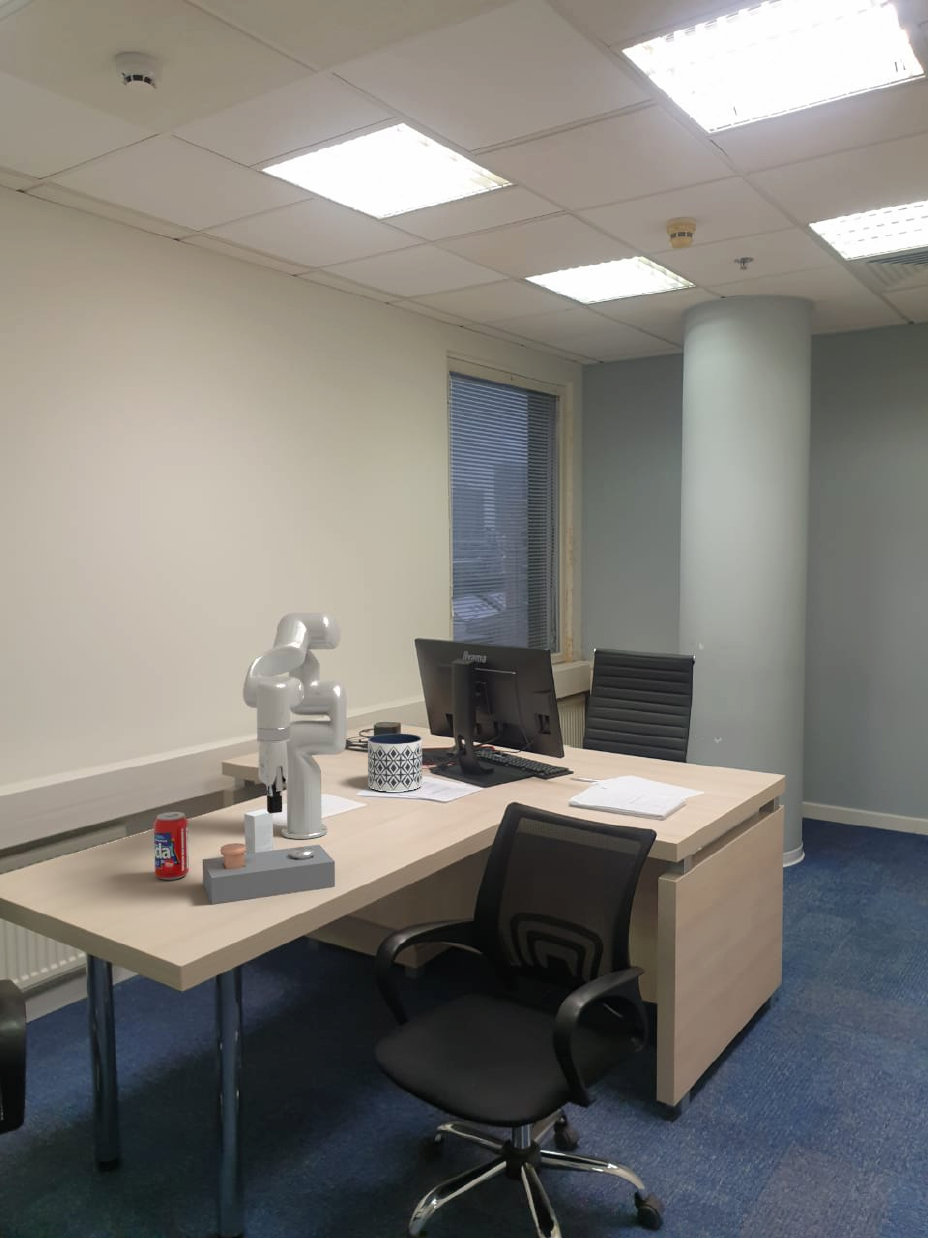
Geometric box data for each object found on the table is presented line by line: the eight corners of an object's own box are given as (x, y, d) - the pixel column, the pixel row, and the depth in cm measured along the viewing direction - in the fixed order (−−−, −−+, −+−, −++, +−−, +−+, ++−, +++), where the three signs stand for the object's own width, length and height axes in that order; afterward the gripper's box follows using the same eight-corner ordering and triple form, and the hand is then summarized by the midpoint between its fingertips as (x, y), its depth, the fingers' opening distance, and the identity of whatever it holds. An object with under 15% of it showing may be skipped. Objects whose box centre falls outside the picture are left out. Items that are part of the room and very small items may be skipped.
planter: (416, 794, 303) (415, 744, 302) (361, 792, 306) (361, 743, 304) (427, 781, 321) (426, 734, 320) (375, 779, 323) (375, 732, 322)
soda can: (195, 875, 225) (194, 814, 224) (166, 884, 219) (164, 821, 218) (177, 868, 230) (176, 809, 229) (148, 876, 224) (147, 815, 223)
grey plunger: (287, 874, 223) (287, 849, 222) (310, 871, 225) (310, 846, 225) (293, 881, 218) (293, 855, 217) (316, 878, 220) (316, 852, 219)
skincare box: (263, 853, 242) (262, 808, 241) (274, 857, 239) (273, 811, 238) (244, 859, 237) (243, 813, 236) (255, 863, 234) (254, 816, 234)
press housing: (203, 884, 219) (202, 859, 218) (319, 868, 230) (319, 844, 230) (212, 904, 206) (211, 878, 206) (334, 886, 217) (334, 861, 217)
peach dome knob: (219, 871, 216) (219, 845, 216) (243, 868, 218) (243, 842, 218) (223, 879, 211) (223, 852, 211) (248, 875, 213) (247, 849, 213)
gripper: (250, 730, 222) (251, 806, 223) (265, 741, 208) (266, 822, 209) (281, 728, 225) (282, 803, 226) (298, 738, 211) (299, 818, 212)
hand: (274, 812), depth 217 cm, fingers closed
